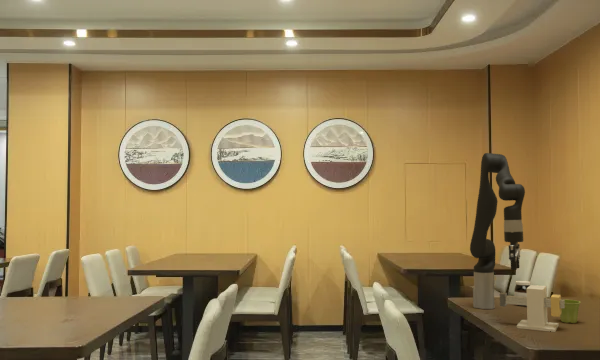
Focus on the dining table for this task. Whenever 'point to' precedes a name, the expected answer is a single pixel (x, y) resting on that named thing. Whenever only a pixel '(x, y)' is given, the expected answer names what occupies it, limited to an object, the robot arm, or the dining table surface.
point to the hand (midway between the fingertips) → (515, 269)
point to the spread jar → (521, 289)
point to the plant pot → (570, 311)
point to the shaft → (523, 300)
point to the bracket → (537, 310)
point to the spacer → (555, 305)
